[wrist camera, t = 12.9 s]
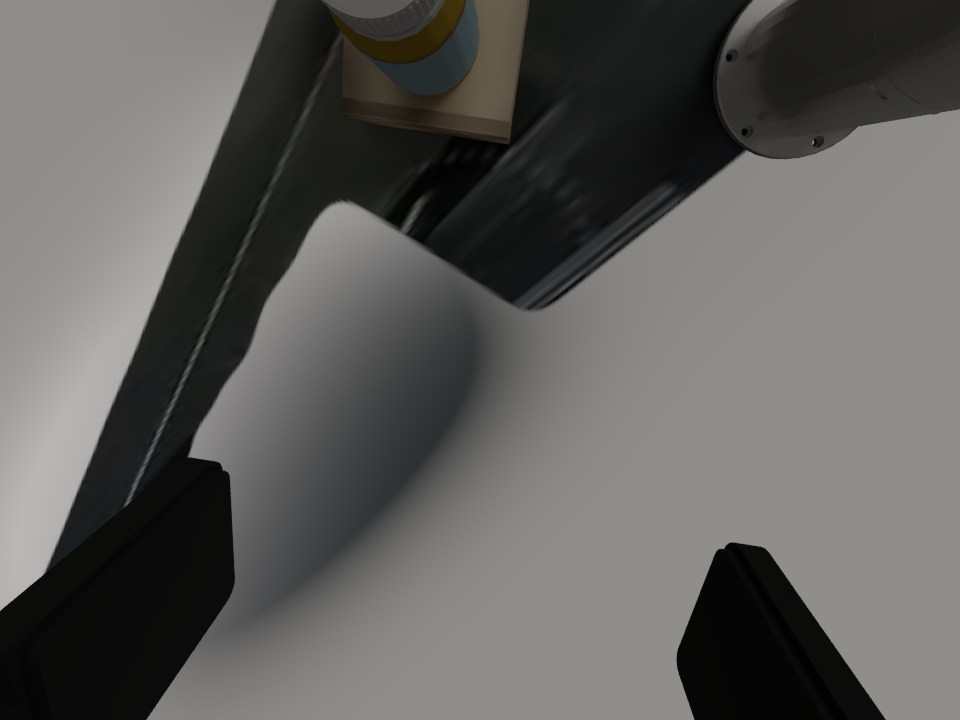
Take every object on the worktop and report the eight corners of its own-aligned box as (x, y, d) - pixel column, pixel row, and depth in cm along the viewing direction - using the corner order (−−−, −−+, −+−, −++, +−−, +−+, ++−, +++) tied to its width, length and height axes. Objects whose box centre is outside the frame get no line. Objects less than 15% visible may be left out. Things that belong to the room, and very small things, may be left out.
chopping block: (534, -33, 36) (539, -74, 30) (509, 144, 40) (508, 137, 34) (373, -57, 36) (347, -101, 30) (364, 122, 40) (340, 112, 34)
